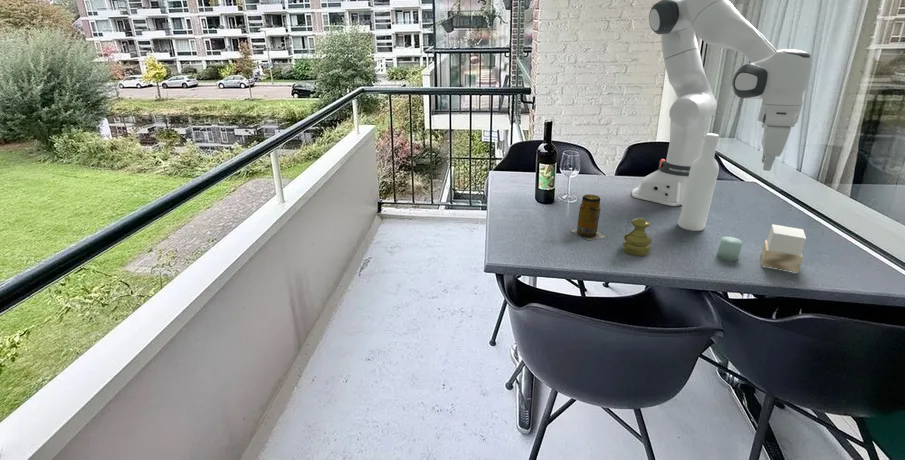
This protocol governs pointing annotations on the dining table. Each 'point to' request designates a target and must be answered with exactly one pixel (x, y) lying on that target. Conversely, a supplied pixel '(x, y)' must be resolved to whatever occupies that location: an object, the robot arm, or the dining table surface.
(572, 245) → the dining table surface
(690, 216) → the bottle
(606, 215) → the dining table surface
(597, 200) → the condiment
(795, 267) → the tower base
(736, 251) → the pale green rounded block
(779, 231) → the tower top
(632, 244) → the yellow tiered cone
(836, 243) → the dining table surface
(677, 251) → the dining table surface
